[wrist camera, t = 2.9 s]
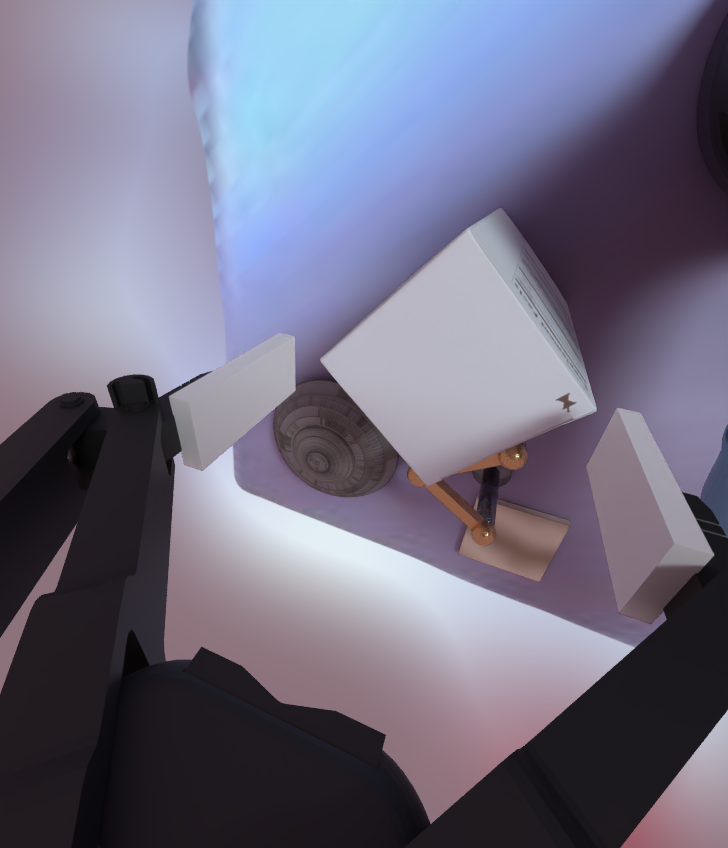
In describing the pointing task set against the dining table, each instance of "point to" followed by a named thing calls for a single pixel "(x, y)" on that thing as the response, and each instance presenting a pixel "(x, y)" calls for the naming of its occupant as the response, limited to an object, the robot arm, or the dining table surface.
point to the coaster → (519, 540)
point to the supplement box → (466, 354)
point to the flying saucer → (332, 441)
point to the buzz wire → (491, 478)
